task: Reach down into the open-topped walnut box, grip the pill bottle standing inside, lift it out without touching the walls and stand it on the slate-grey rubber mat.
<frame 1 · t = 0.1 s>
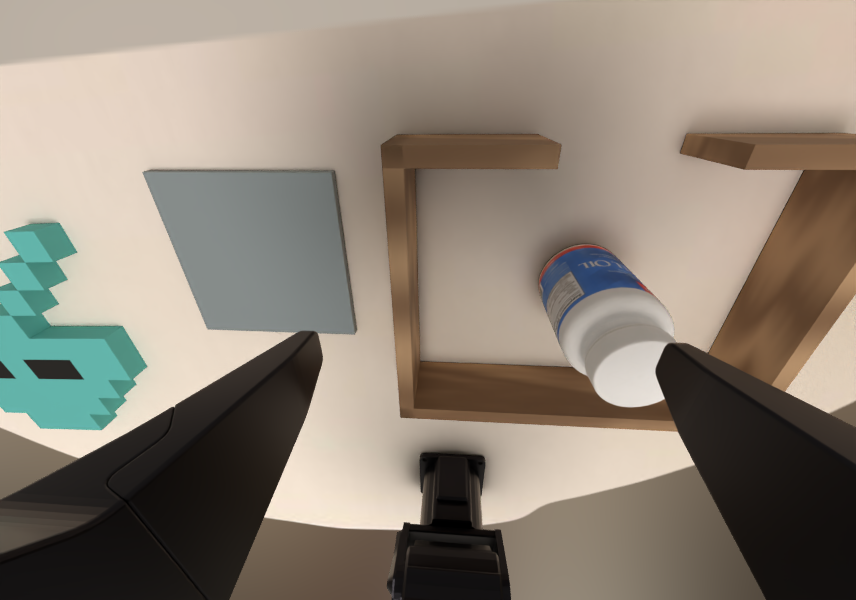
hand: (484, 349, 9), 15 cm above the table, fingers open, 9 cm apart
walnut box: (576, 278, 24), on the table
alien figure: (32, 332, 31), on the table
slate mat: (264, 258, 24), on the table
pill bottle: (575, 277, 24), resting in walnut box
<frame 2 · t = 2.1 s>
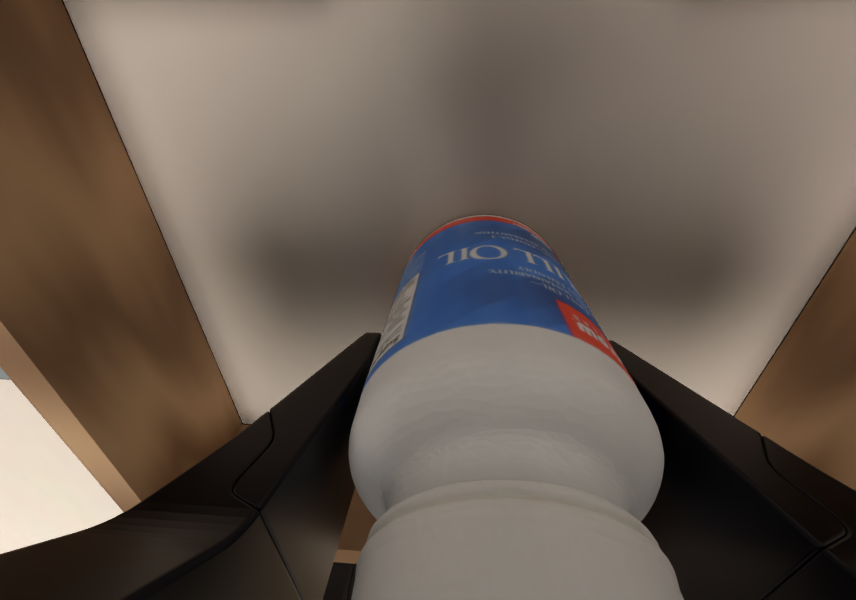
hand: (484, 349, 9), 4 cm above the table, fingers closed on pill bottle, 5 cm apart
walnut box: (478, 286, 12), on the table
pill bottle: (477, 283, 12), resting in walnut box, touching gripper
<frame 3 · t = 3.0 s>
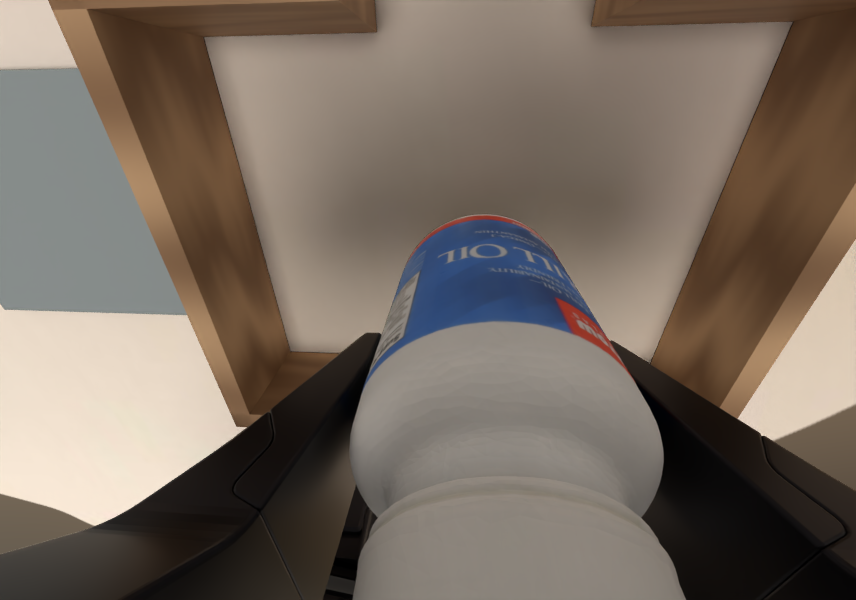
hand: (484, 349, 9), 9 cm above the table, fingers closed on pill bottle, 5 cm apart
walnut box: (470, 233, 17), on the table
slate mat: (48, 209, 18), on the table
pill bottle: (477, 282, 12), point 5 cm above the table, touching gripper
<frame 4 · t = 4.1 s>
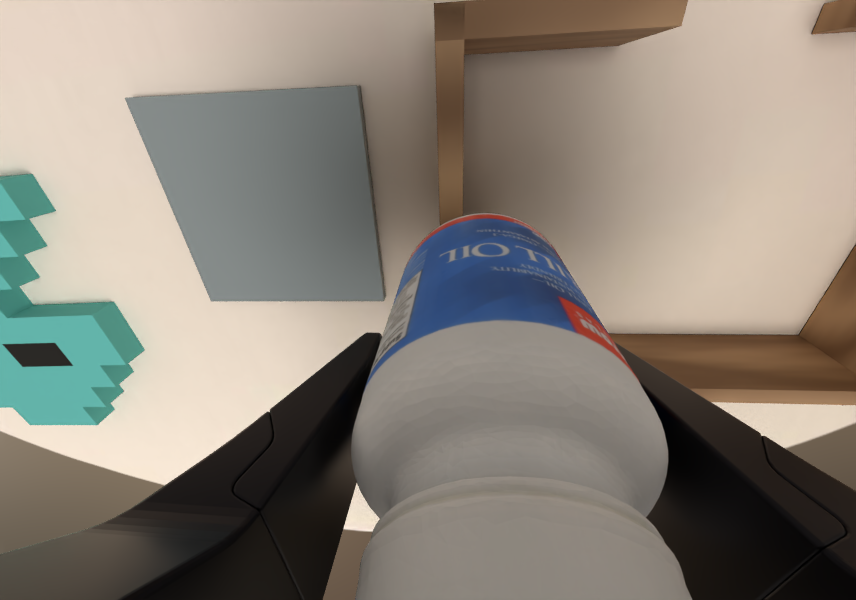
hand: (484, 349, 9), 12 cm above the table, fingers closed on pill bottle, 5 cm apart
walnut box: (658, 218, 19), on the table
alien figure: (14, 314, 27), on the table
slate mat: (275, 209, 20), on the table
pill bottle: (478, 281, 12), point 9 cm above the table, touching gripper
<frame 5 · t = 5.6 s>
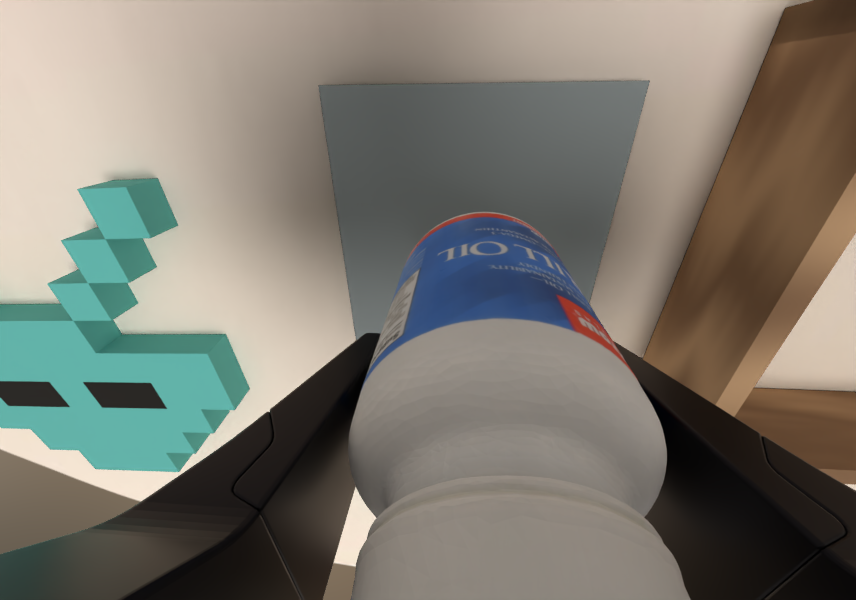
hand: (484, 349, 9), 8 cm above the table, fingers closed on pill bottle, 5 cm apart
alien figure: (91, 342, 22), on the table
slate mat: (469, 234, 16), on the table
pill bottle: (477, 280, 12), point 5 cm above the table, touching gripper
when the fingers open (5 cm above the table, at t = 6.6 s): pill bottle stays where it is, resting on slate mat.
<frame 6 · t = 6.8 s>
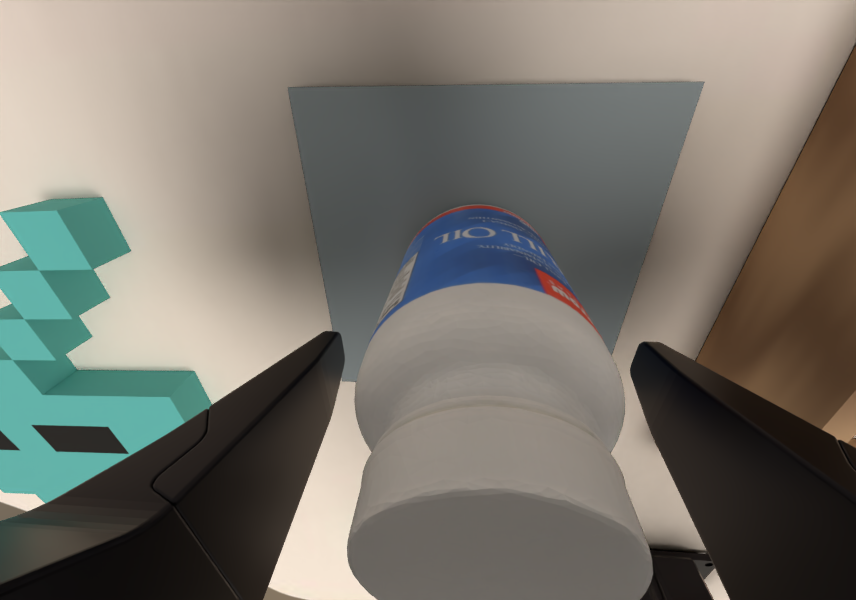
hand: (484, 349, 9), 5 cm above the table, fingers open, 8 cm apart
alien figure: (46, 376, 20), on the table
slate mat: (474, 264, 14), on the table
pill bottle: (472, 269, 13), resting on slate mat
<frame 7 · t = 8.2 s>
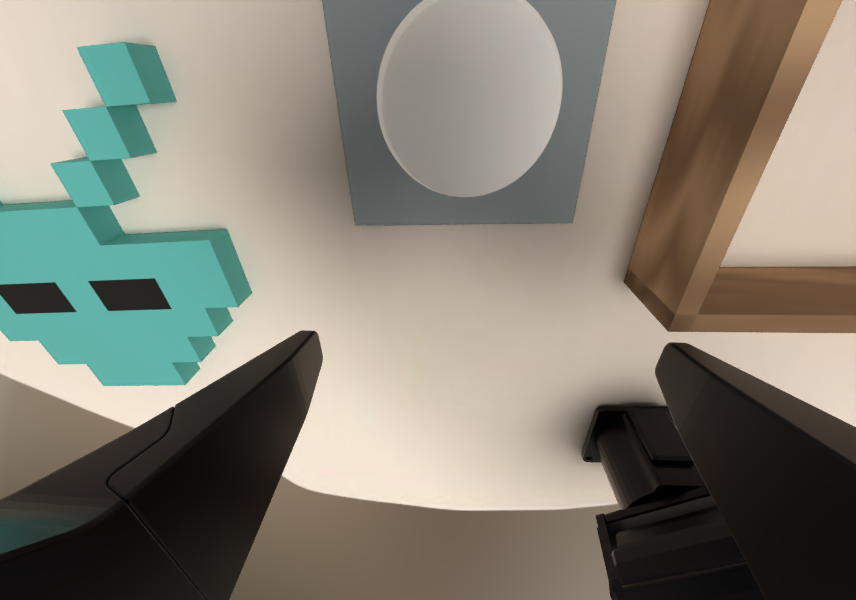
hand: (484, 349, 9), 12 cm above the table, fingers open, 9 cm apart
alien figure: (95, 249, 23), on the table
slate mat: (464, 98, 16), on the table
pill bottle: (462, 99, 16), resting on slate mat
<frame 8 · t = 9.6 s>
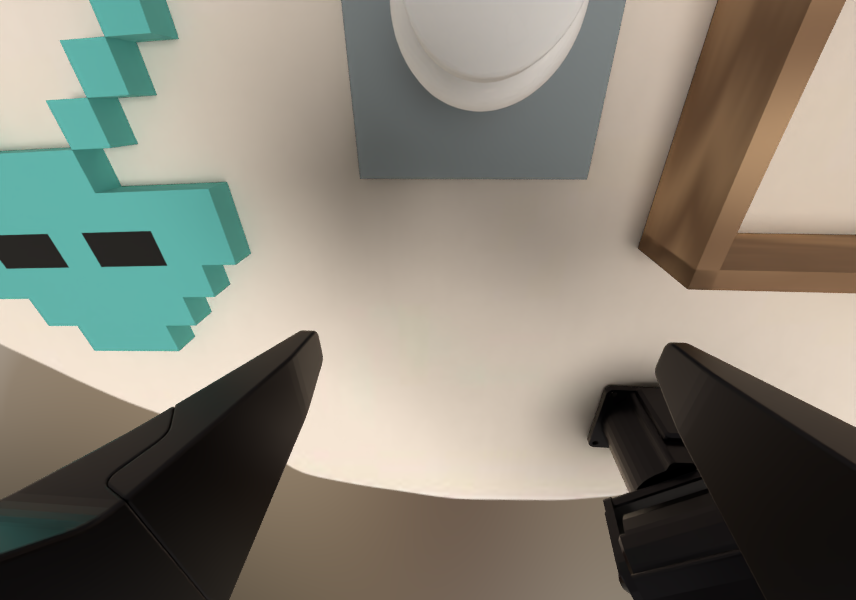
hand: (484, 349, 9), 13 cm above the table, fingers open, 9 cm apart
alien figure: (91, 203, 22), on the table
slate mat: (477, 40, 16), on the table
pill bottle: (476, 39, 15), resting on slate mat
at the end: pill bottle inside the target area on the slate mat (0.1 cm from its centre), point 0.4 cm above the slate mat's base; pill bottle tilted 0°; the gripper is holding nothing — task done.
